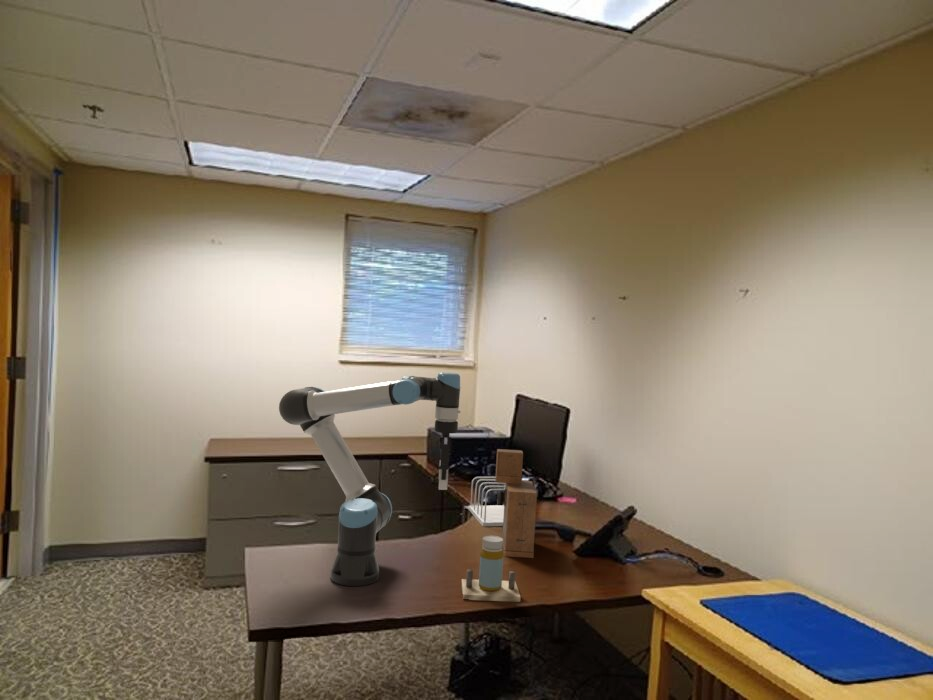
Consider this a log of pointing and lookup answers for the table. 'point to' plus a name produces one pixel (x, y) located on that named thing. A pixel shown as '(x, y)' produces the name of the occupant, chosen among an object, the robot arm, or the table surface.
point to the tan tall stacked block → (516, 504)
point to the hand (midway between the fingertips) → (442, 484)
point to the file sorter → (487, 506)
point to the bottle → (491, 563)
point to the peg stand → (503, 594)
